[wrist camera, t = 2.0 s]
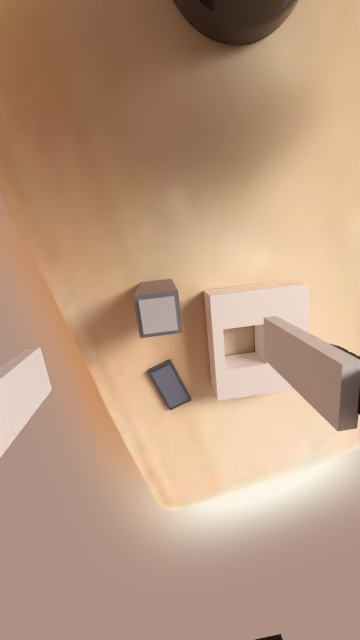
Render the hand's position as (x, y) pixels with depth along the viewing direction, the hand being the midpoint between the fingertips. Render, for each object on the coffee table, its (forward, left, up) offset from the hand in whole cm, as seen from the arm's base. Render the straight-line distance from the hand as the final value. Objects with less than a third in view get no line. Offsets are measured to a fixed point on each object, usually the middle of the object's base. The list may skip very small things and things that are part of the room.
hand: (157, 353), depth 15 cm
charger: (0, 0, -19) cm, 19 cm away
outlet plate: (+7, +12, -19) cm, 23 cm away
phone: (+13, 0, -19) cm, 23 cm away
